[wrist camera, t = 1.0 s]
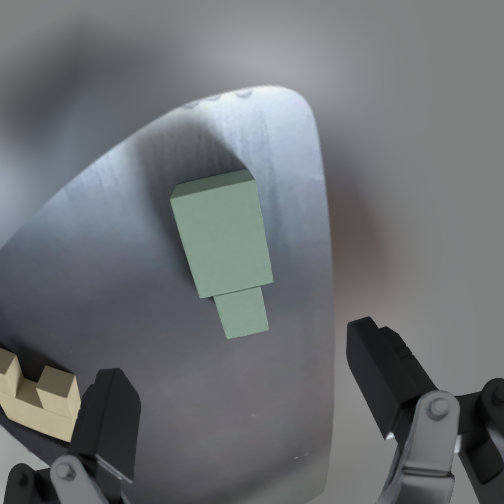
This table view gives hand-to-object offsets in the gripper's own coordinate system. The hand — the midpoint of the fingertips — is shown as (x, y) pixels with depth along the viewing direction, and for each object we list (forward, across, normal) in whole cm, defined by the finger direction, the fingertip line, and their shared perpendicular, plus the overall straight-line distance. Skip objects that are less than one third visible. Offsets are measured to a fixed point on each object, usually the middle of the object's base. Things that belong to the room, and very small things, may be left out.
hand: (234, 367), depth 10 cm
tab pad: (+13, 0, +2) cm, 13 cm away
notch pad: (+13, +28, +15) cm, 34 cm away
